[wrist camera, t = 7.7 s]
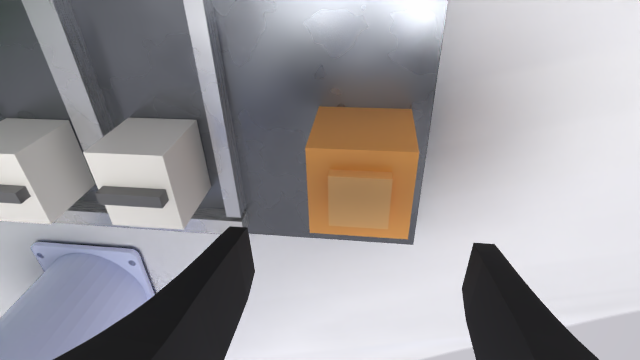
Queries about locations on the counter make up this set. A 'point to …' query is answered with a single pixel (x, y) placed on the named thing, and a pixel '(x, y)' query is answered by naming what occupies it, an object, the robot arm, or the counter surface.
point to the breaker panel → (223, 86)
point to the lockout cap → (361, 171)
